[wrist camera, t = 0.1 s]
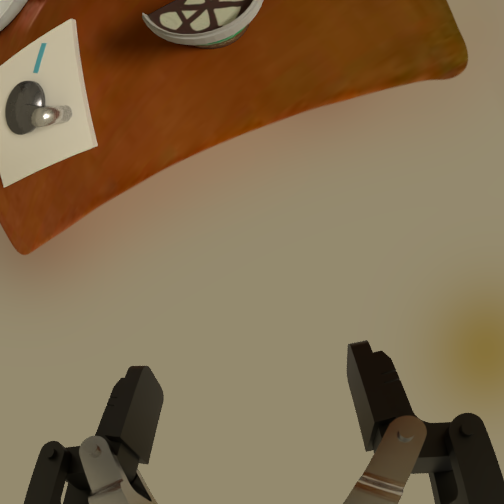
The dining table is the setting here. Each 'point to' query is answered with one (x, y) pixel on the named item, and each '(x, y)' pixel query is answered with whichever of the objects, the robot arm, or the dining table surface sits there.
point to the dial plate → (56, 94)
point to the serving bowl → (9, 11)
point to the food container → (203, 21)
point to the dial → (32, 109)
